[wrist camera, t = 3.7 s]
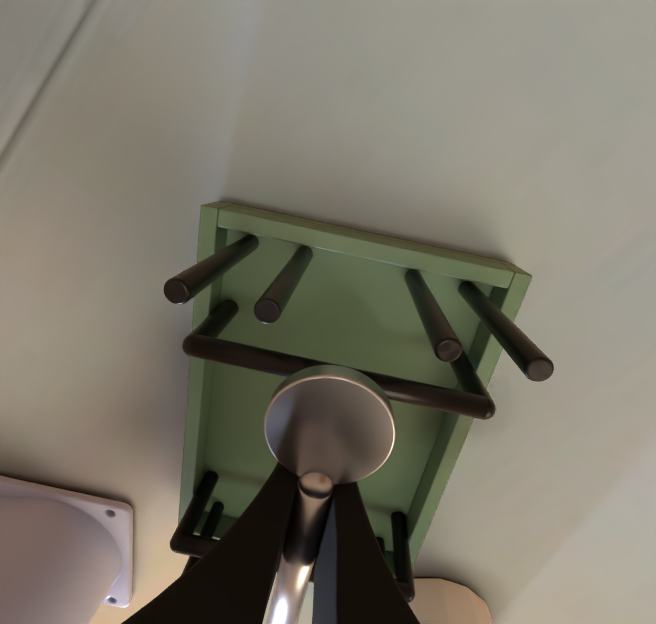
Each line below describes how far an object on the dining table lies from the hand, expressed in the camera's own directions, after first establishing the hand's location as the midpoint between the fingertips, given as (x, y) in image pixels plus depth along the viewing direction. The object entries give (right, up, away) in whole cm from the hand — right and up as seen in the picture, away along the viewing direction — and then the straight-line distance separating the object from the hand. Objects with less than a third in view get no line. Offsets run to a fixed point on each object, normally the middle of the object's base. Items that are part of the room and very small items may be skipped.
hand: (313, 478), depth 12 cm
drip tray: (0, +1, +4) cm, 5 cm away
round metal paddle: (0, -1, -1) cm, 1 cm away
